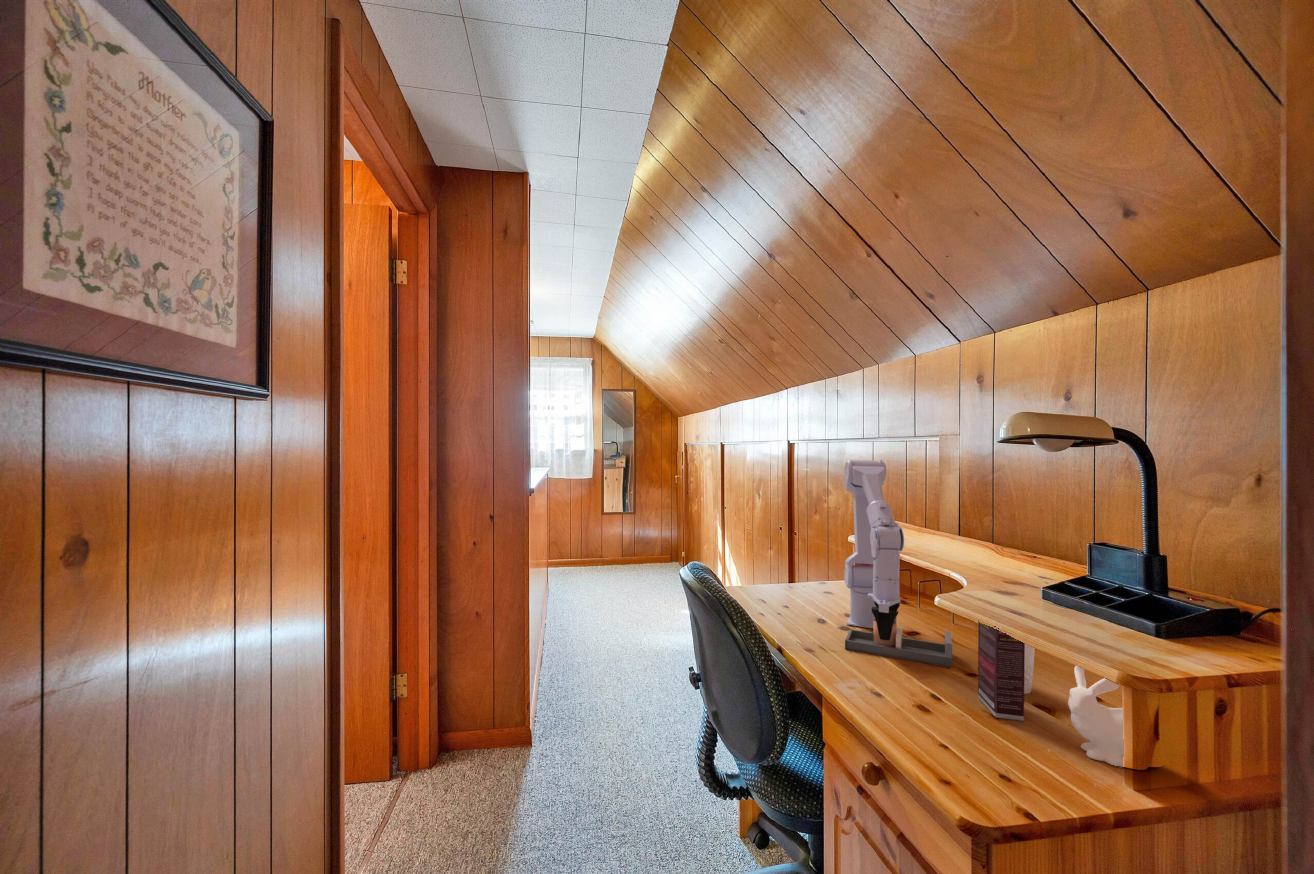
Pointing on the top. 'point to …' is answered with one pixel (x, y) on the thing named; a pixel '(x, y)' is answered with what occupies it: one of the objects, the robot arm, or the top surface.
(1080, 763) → the top surface
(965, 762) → the top surface
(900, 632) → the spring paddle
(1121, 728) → the rabbit
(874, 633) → the jar
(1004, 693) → the supplement box
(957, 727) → the top surface
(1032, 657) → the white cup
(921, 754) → the top surface
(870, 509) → the robot arm
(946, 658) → the tray
